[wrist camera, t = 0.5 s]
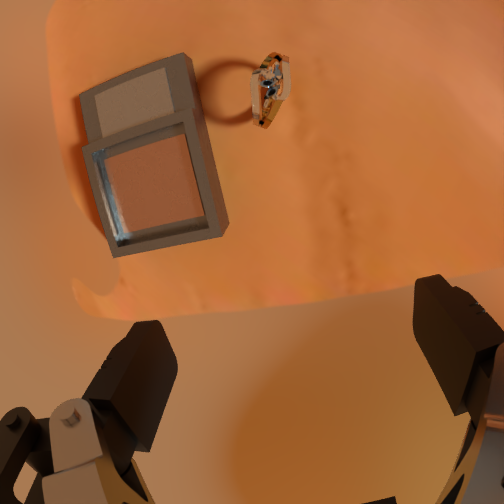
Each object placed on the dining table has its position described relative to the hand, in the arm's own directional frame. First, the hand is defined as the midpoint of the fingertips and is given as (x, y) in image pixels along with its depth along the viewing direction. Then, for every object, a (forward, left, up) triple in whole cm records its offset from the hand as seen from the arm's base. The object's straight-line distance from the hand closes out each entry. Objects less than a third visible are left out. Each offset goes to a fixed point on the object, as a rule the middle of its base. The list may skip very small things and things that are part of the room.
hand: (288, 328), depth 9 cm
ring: (-10, +1, -24) cm, 26 cm away
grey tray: (-7, -12, -24) cm, 27 cm away
